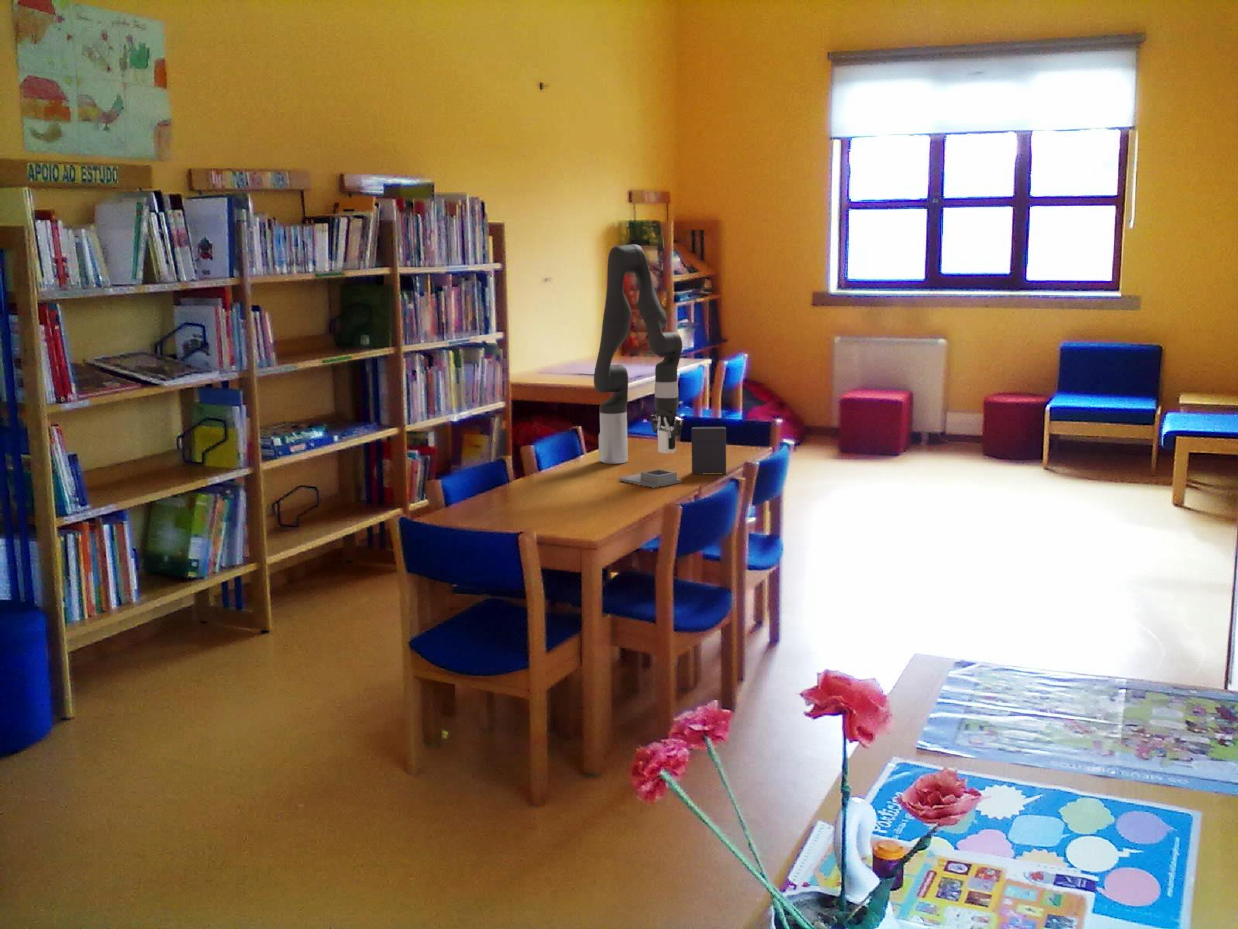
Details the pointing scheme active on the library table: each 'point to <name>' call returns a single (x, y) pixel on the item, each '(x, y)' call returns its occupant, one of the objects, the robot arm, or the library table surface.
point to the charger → (664, 442)
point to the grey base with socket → (653, 478)
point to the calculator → (708, 450)
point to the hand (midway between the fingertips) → (666, 447)
